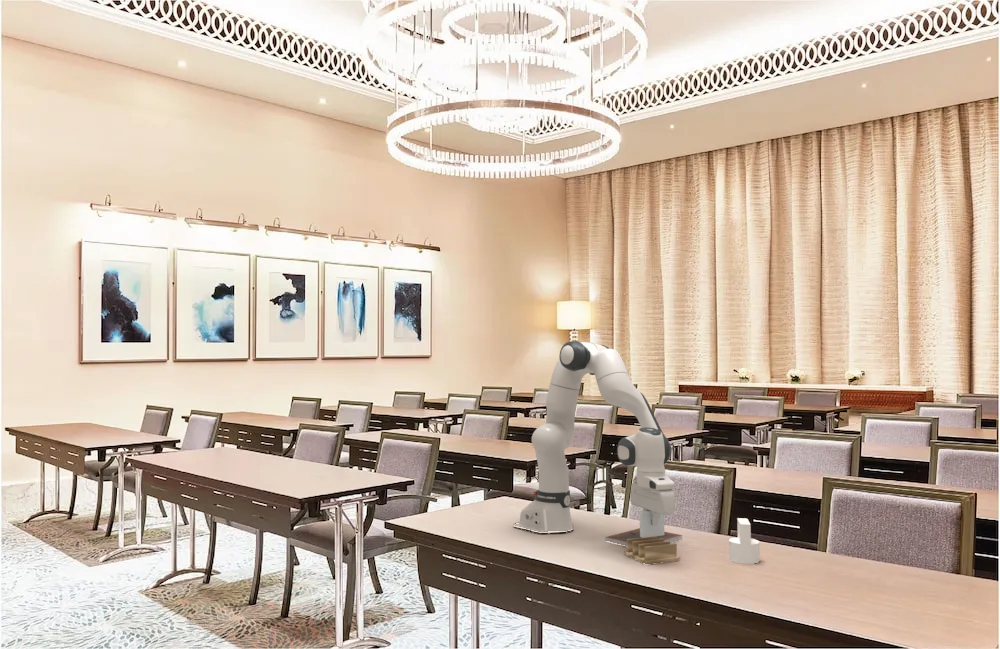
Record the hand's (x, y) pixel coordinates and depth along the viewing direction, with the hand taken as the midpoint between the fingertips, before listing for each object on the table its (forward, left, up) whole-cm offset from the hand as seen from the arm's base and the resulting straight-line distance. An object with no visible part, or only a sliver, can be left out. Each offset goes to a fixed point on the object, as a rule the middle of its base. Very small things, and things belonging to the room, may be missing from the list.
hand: (651, 524), depth 238 cm
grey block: (0, 0, -4) cm, 4 cm away
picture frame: (-12, +18, -11) cm, 24 cm away
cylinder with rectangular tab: (+24, +15, -11) cm, 30 cm away
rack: (0, 0, -10) cm, 10 cm away
